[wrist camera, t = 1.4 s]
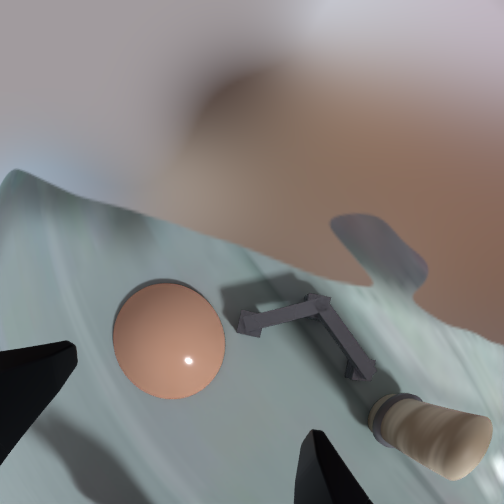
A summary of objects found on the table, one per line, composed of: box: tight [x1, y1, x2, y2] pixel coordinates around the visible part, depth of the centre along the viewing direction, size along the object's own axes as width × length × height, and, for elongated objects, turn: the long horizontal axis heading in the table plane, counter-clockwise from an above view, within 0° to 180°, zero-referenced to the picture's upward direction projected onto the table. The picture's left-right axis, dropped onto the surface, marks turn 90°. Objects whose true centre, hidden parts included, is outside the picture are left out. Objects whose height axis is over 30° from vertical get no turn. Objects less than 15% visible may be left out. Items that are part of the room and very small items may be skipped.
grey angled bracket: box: [237, 293, 377, 381], centre depth 23 cm, size 7×13×3 cm, turn 78°
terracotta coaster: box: [113, 283, 225, 399], centre depth 23 cm, size 11×11×1 cm
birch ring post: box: [368, 393, 493, 481], centre depth 15 cm, size 6×6×13 cm
